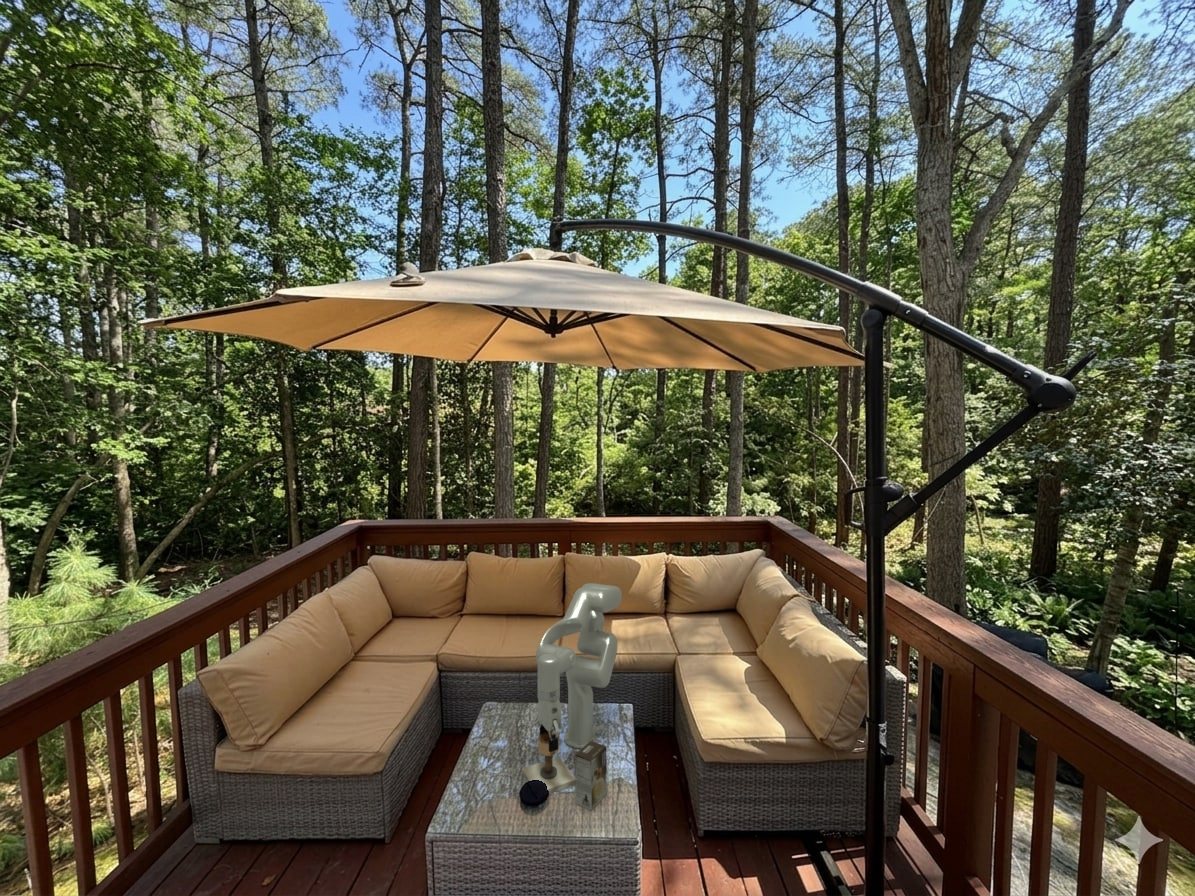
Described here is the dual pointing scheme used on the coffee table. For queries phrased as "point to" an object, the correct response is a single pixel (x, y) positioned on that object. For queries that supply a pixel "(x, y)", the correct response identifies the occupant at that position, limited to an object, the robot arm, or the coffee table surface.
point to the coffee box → (591, 775)
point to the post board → (550, 774)
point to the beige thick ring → (545, 744)
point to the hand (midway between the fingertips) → (548, 743)
